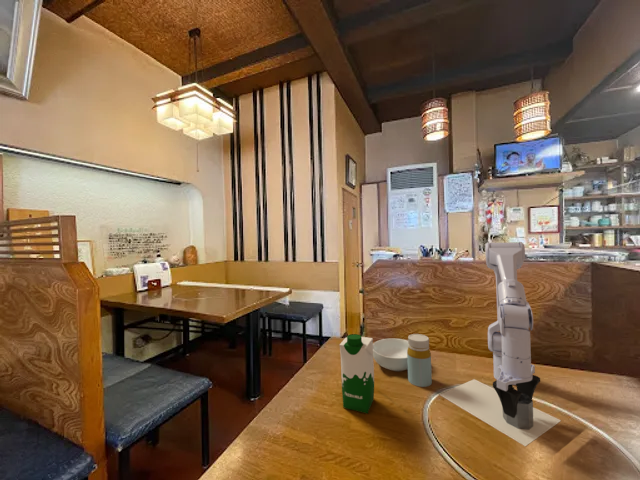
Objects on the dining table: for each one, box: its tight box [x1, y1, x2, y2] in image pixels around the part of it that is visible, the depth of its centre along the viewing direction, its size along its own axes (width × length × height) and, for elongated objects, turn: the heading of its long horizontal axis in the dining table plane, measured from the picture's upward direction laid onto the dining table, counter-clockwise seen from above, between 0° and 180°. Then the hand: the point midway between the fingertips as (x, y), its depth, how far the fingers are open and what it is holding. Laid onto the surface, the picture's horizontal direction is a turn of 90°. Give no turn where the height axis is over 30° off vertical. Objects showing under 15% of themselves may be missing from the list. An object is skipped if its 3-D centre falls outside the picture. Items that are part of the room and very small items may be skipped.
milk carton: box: [339, 333, 375, 414], centre depth 77 cm, size 9×9×20 cm
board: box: [438, 378, 562, 447], centre depth 72 cm, size 16×22×1 cm
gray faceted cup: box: [502, 393, 534, 430], centre depth 66 cm, size 6×6×6 cm
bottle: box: [407, 333, 433, 388], centre depth 85 cm, size 7×7×15 cm
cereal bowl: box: [373, 337, 409, 372], centre depth 98 cm, size 17×17×7 cm
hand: (517, 409), depth 66 cm, fingers open, 7 cm apart
